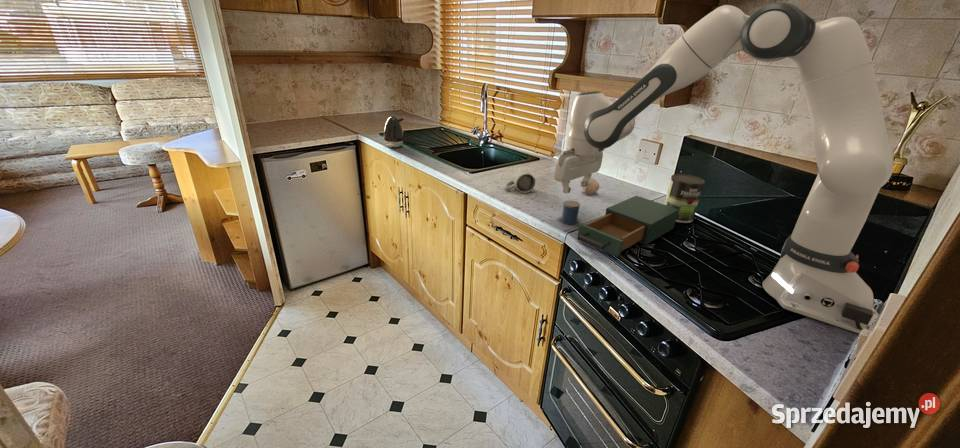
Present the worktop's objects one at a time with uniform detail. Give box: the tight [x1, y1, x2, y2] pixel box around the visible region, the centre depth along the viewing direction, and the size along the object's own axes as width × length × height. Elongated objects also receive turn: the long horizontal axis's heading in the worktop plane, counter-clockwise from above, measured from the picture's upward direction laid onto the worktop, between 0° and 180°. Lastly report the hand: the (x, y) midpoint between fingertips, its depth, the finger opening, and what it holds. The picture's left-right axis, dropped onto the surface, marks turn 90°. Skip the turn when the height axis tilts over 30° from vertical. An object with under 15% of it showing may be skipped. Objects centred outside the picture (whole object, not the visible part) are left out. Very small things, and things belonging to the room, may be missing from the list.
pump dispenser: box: [383, 115, 405, 149], centre depth 205 cm, size 10×10×15 cm
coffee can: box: [663, 173, 706, 224], centre depth 138 cm, size 10×10×14 cm
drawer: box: [576, 213, 647, 258], centre depth 118 cm, size 22×14×5 cm, turn 132°
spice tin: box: [561, 199, 581, 225], centre depth 132 cm, size 5×5×6 cm
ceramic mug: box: [505, 169, 536, 194], centre depth 157 cm, size 11×8×8 cm
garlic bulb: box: [581, 177, 600, 195], centre depth 156 cm, size 7×6×8 cm
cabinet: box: [604, 195, 679, 246], centre depth 129 cm, size 19×15×7 cm
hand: (575, 189), depth 128 cm, fingers open, 8 cm apart
